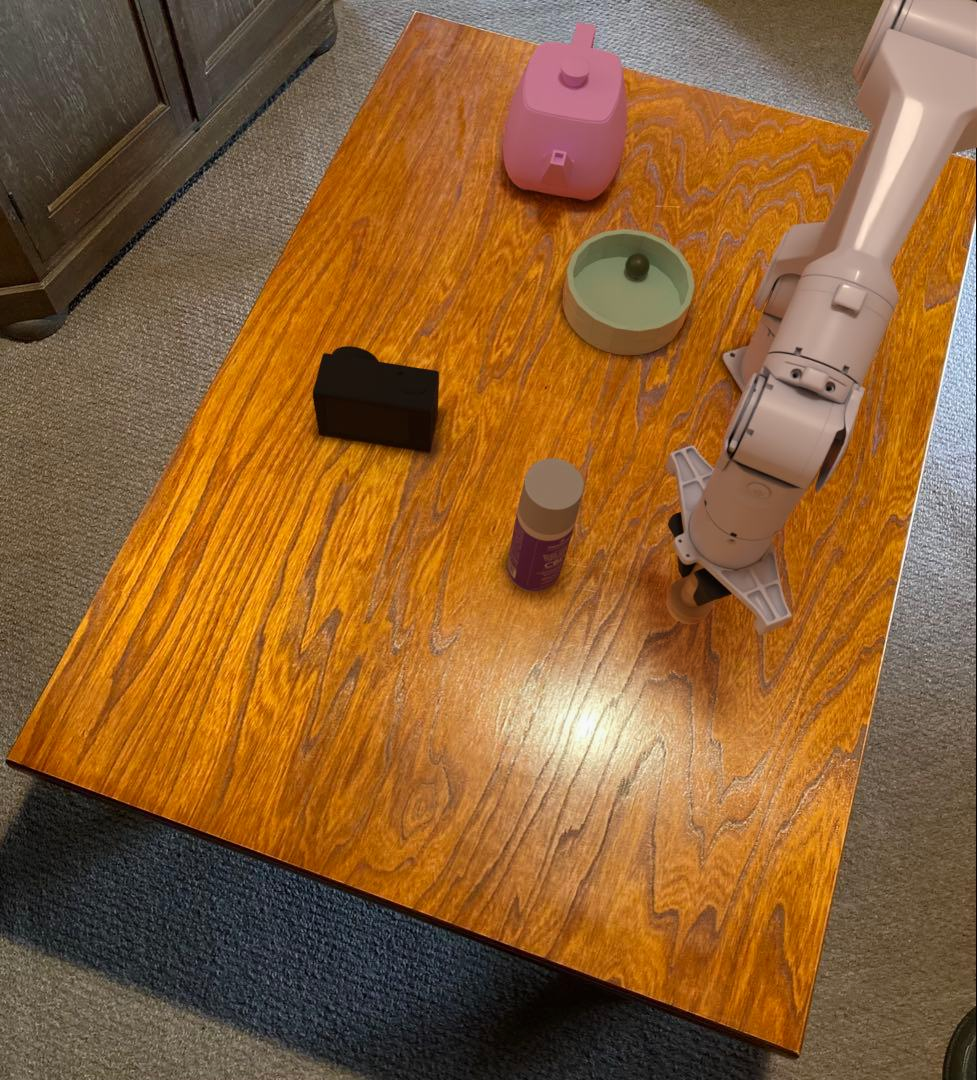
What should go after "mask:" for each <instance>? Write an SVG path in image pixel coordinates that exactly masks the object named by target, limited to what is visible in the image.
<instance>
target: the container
mask: <svg viewBox="0 0 977 1080" xmlns="http://www.w3.org/2000/svg"><path fill="white" fill-rule="evenodd" d="M584 487H585V484H584V479H583V476H582V474H581V472H580V471H579V469H578V468H577V467H576V466H575V465H573V464H572V463H571V462H569V461H567V460H565V459H562V458H557V457H547V458H542V459H540V460H538V461H536V462H534V463H533V464H532V465H531V466H529V468H528V469H527V471H526V473H525V476H524V480H523V484H522V488H521V493H520V497H519V501H518V505H517V507H516V514H515V519H514V524H513V531H512V536H511V541H510V547H509V551H508V556H507V562H506V563H507V564H506V572H507V576H508V578H509V580H510V581H511V583H512V584H513V585H514V586H515V587H516V588H518V589H519V590H520V591H522V592H525V593H529V594H541V593H544V592H547V591H549V590H551V589H552V588H553V587H554V586H555V585H556V584H557V582H558V581H559V579H560V576H561V572H562V570H563V567H564V562H565V560H566V556H567V553H568V549H569V547H570V543H571V540H572V536H573V533H574V530H575V526H576V522H577V518H578V514H579V510H580V506H581V501H582V498H583V493H584V489H585V488H584Z"/></svg>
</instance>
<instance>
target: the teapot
mask: <svg viewBox="0 0 977 1080" xmlns="http://www.w3.org/2000/svg"><path fill="white" fill-rule="evenodd" d="M596 29H597V25H595V24H590V23H586V22H580V21H577V22H576V25H575V29H574V33H573V37H572V41H571V43H565V42H557V41H544V42H542V43H540V44H539V45H538V46H536V48H535V50H534V51H533V53H532V55H531V57H530V58H529V60H528V62H527V64H526V66H525V68H524V71H523V73H522V75H521V77H520V79H519V81H518V83H517V86H516V87H515V90H514V92H513V95H512V97H511V100H510V103H509V107H508V110H507V115H506V119H505V123H504V129H503V138H502V152H503V153H502V155H503V162H504V168H505V170H506V173H507V176H508V177H509V179H510V180H511V182H512V183H513V184H514V185H516V186H517V187H518V188H519V189H521V190H523V191H534V192H539V193H543V194H549V195H552V196H558V197H559V196H560V197H565V198H573V199H578V200H580V201H585V202H586V201H587V202H588V201H592V200H593V199H595V198H597V197H599V196H600V195H602V193H603V192H604V191H606V189H608V187H609V186H610V184H611V183H612V180H614V177H615V175H616V173H617V171H618V169H619V166H620V164H621V161H622V159H623V156H624V155H623V154H624V151H625V145H626V141H627V132H628V131H627V129H628V104H627V102H628V101H627V90H626V83H625V75H624V70H623V65H622V64H623V63H622V61H621V59H620V58H619V56H618V55H617V54H616V53H613V52H610V51H607V50H602V49H599V48H594V43H595V37H596Z"/></svg>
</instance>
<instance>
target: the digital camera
mask: <svg viewBox="0 0 977 1080" xmlns="http://www.w3.org/2000/svg"><path fill="white" fill-rule="evenodd" d="M439 391H440V372H439V371H438V370H434V369H428V368H421V367H415V366H409V365H402V364H397V363H390V362H383V361H380V360H379V359H378V358H377V357H376V355H374V354H373V353H371V351H368V350H366V349H364V348H361V347H358V346H351V345H344V346H340V347H337V348H336V349H334V350H333V351H332V353H327V352H324V353H322V356H321V359H320V364H319V367H318V371H317V375H316V377H315V382H314V385H313V389H312V401H313V406H314V413H315V417H316V418H315V419H316V424H317V430H318V435H319V436H323V437H324V436H325V437H331V438H336V439H337V438H338V439H344V440H350V441H356V442H362V443H369V444H375V445H381V446H386V447H387V446H388V447H394V448H400V449H406V450H413V451H418V452H423V453H424V452H425V453H431V450H432V445H433V440H434V436H435V431H436V426H437V421H438V417H439V394H440V392H439Z"/></svg>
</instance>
